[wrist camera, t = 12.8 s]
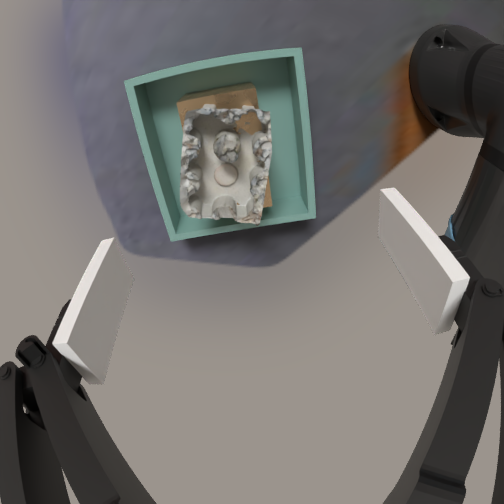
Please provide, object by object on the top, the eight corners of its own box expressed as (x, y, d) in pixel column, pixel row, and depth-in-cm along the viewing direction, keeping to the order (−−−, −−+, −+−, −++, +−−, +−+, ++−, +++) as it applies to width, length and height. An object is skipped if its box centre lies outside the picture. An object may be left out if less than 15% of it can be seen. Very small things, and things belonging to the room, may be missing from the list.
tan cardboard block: (251, 81, 29) (255, 88, 24) (266, 182, 36) (272, 206, 32) (185, 94, 30) (176, 102, 25) (207, 192, 37) (204, 217, 32)
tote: (291, 47, 28) (301, 47, 24) (306, 197, 39) (315, 218, 35) (138, 76, 28) (123, 81, 24) (176, 219, 39) (171, 241, 35)
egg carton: (257, 209, 32) (261, 232, 29) (183, 204, 31) (177, 226, 28) (274, 106, 26) (282, 115, 22) (189, 98, 25) (182, 106, 21)
